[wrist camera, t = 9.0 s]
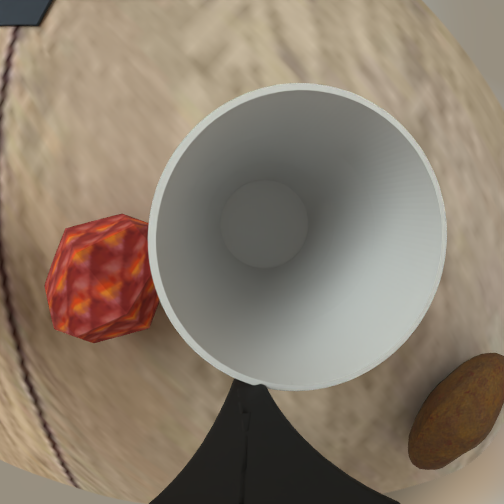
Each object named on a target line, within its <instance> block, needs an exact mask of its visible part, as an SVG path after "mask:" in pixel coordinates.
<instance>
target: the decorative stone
mask: <svg viewBox="0 0 504 504" xmlns="http://www.w3.org/2000/svg"><path fill="white" fill-rule="evenodd" d="M148 226H149V223H146V222H144V221H141V220H138V219H135V218H133V217H130V216H127V215H124V214H119V215H115V216H111V217H107V218H103V219H99V220H95V221H92V222H88V223H84V224H80V225H77V226H73V227H69V228H66V229H65V231H64V234H63V236H62V239H61V241H60V244H59V246H58V249H57V251H56V254H55V257H54V259H53V262H52V265H51V268H50V271H49V273H48V276H47V279H46V282H45V285H44V286H45V291H46V296H47V301H48V305H49V310H50V314H51V318H52V322H53V326H54V329H55V330H58V331H61V332H63V333H66V334H69V335H72V336H74V337H77V338H80V339H83V340H86V341H89V342H92V343H97V342H100V341H104V340H108V339H112V338H115V337H119V336H123V335H127V334H130V333H134V332H137V331H141V330H145V329H148V328H150V325H151V322H152V320H153V317H154V314H155V311H156V309H157V306H158V303H159V301H160V299H159V297H158V294H157V291H156V289H155V285H154V282H153V278H152V274H151V269H150V263H149V254H148Z"/></svg>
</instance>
